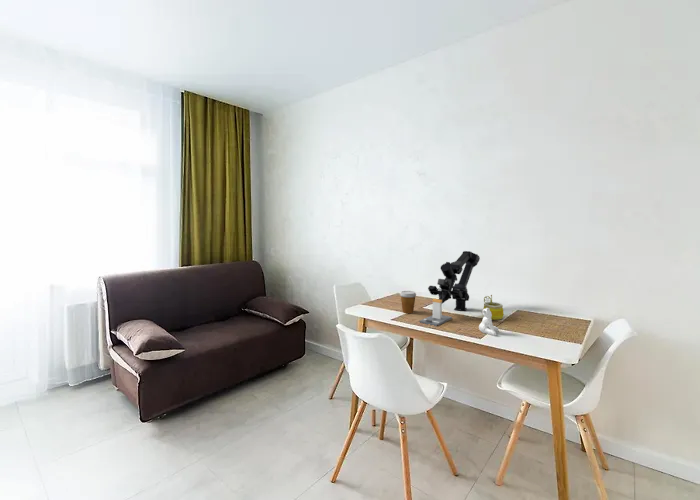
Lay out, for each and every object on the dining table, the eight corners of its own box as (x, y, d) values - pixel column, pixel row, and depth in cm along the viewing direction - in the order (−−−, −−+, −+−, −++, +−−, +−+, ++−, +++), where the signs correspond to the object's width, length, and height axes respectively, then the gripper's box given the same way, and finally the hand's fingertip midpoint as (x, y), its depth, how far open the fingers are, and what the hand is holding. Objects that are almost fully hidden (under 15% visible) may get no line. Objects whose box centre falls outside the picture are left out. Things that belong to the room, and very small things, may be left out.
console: (435, 315, 195) (435, 312, 195) (452, 318, 188) (452, 315, 188) (419, 322, 182) (419, 318, 182) (436, 326, 175) (436, 322, 175)
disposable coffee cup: (415, 310, 207) (415, 290, 206) (416, 314, 197) (417, 294, 196) (399, 309, 208) (399, 290, 207) (400, 314, 198) (400, 293, 197)
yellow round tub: (505, 321, 183) (506, 299, 182) (484, 320, 185) (485, 298, 184) (500, 314, 196) (501, 294, 195) (480, 314, 198) (480, 293, 197)
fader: (434, 316, 188) (434, 298, 187) (441, 318, 185) (442, 300, 184) (432, 317, 186) (432, 299, 186) (439, 319, 183) (440, 300, 183)
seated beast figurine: (495, 336, 159) (496, 311, 158) (476, 333, 164) (477, 309, 163) (499, 331, 167) (499, 307, 166) (480, 328, 172) (481, 305, 171)
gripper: (429, 271, 196) (419, 293, 189) (460, 275, 184) (451, 298, 176) (436, 283, 203) (426, 304, 195) (466, 287, 190) (457, 310, 183)
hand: (439, 304), depth 187 cm, fingers closed
